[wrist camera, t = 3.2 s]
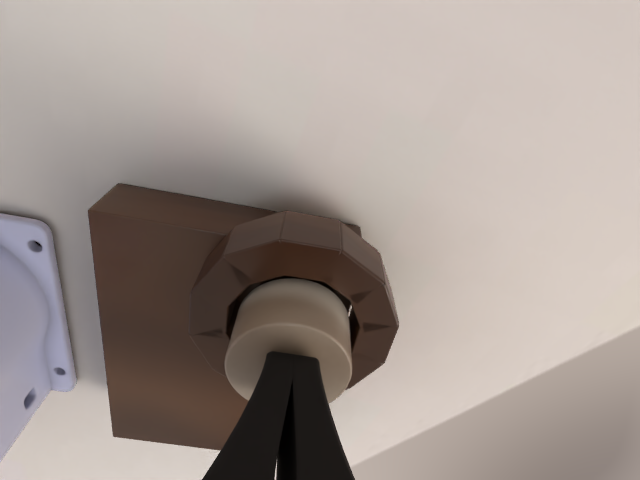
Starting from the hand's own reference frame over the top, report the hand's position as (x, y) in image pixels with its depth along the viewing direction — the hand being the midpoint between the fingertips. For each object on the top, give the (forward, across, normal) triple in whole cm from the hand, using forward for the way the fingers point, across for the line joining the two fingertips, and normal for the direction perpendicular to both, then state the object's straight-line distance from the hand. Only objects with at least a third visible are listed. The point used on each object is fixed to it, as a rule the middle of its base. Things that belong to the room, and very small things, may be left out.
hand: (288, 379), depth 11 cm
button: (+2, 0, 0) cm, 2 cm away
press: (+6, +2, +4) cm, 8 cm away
